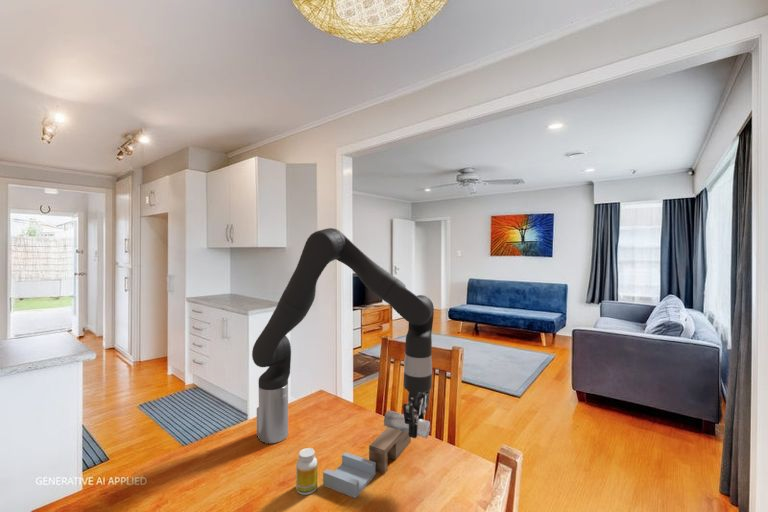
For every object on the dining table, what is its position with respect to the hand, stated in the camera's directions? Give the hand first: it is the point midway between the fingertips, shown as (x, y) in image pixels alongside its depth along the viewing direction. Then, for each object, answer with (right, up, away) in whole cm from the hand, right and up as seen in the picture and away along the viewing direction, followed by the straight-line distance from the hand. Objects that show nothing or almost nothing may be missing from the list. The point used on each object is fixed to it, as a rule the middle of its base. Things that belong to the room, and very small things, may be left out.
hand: (416, 432), depth 95 cm
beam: (-7, -12, +11) cm, 17 cm away
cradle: (-18, -12, -1) cm, 22 cm away
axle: (-3, 0, +1) cm, 3 cm away
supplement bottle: (-29, -13, -4) cm, 32 cm away
